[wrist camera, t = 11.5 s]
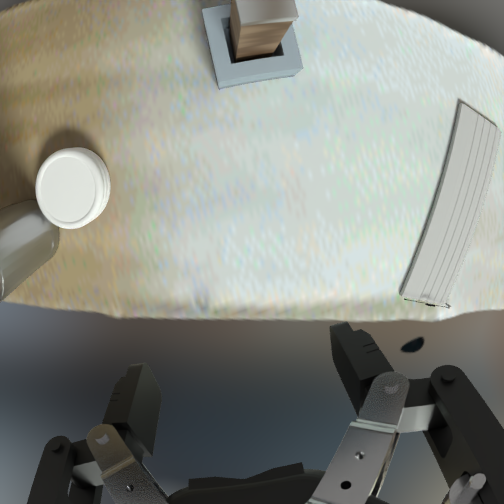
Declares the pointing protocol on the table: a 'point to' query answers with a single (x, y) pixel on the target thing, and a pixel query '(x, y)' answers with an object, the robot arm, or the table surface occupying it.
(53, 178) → the white round disc
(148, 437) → the robot arm
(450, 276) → the baseboard
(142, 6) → the table surface
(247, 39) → the rail post
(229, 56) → the grey square collar
